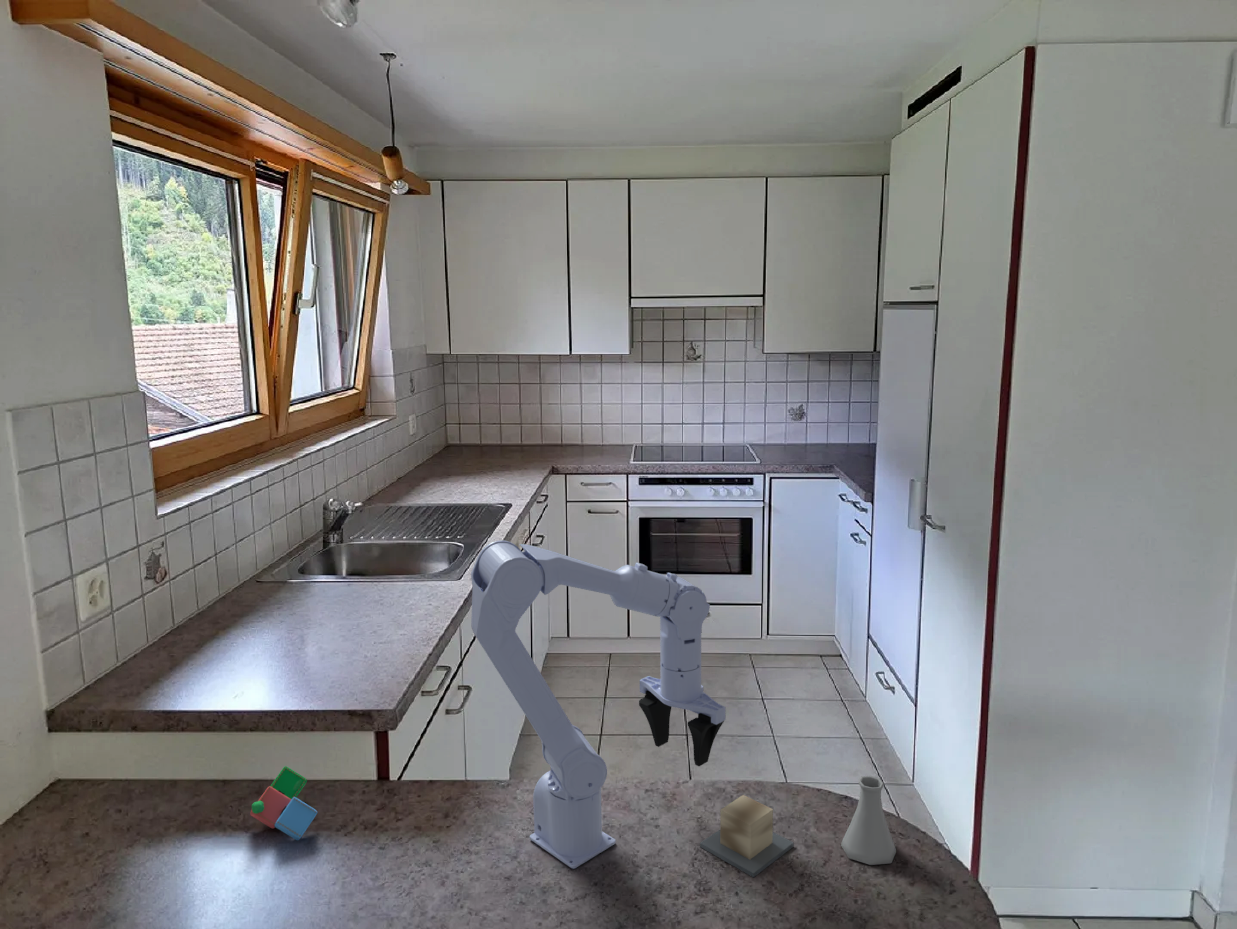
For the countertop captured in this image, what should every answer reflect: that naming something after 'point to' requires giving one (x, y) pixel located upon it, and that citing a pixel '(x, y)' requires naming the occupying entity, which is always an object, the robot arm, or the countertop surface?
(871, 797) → the flask
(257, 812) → the building blocks
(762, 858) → the coaster
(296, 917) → the countertop surface
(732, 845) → the block
